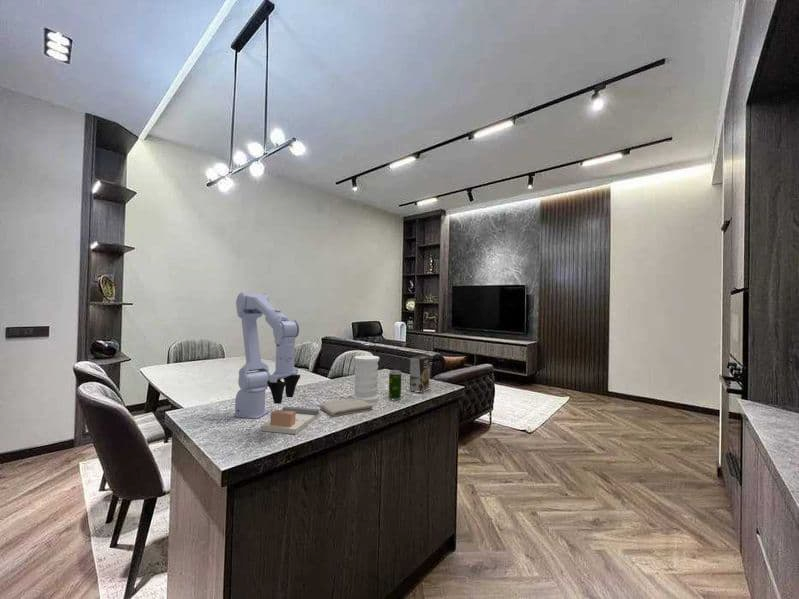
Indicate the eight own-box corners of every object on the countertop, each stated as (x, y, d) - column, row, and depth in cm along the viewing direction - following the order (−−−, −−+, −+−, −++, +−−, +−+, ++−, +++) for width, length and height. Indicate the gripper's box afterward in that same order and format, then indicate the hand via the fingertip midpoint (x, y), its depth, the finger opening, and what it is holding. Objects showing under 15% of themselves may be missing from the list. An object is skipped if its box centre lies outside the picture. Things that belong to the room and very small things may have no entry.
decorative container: (346, 398, 147) (347, 356, 147) (366, 393, 156) (367, 354, 156) (365, 404, 139) (366, 360, 140) (384, 398, 148) (385, 357, 148)
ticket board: (271, 422, 115) (271, 414, 115) (289, 412, 127) (289, 403, 127) (307, 426, 113) (307, 417, 113) (321, 415, 125) (322, 406, 125)
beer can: (397, 396, 153) (398, 369, 153) (402, 399, 148) (403, 371, 148) (386, 397, 151) (387, 370, 151) (391, 400, 146) (391, 372, 146)
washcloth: (374, 410, 133) (375, 403, 133) (332, 418, 122) (332, 410, 122) (359, 403, 142) (359, 395, 142) (319, 410, 132) (319, 402, 132)
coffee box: (420, 393, 159) (421, 358, 159) (408, 391, 162) (409, 357, 163) (429, 389, 167) (430, 356, 167) (418, 387, 170) (419, 355, 170)
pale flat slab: (260, 430, 108) (261, 413, 108) (272, 423, 115) (272, 406, 115) (295, 434, 106) (296, 416, 106) (305, 426, 113) (306, 409, 113)
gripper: (285, 362, 102) (283, 407, 102) (306, 355, 116) (305, 395, 116) (263, 360, 103) (262, 405, 103) (287, 354, 118) (286, 393, 118)
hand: (283, 400), depth 110 cm, fingers open, 7 cm apart
